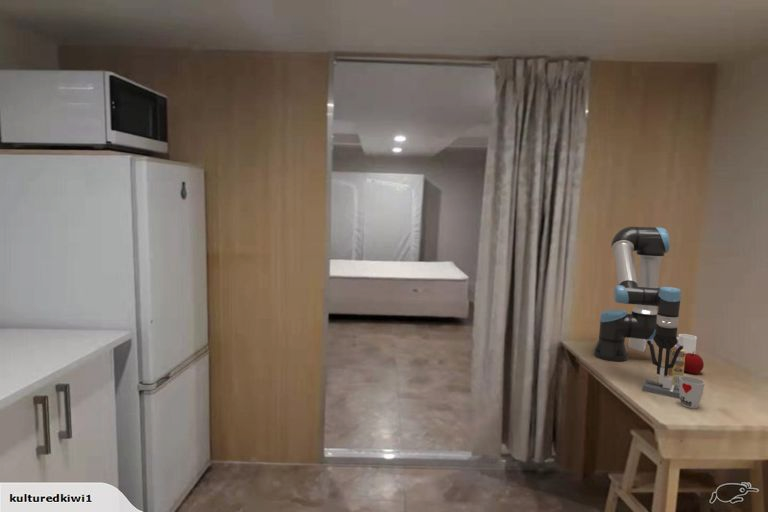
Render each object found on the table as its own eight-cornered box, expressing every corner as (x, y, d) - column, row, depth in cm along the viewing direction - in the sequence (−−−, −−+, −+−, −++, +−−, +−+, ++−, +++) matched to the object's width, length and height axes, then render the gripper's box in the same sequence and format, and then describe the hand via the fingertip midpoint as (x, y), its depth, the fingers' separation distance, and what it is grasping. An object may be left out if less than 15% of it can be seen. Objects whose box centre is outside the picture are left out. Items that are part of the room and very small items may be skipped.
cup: (671, 401, 188) (674, 376, 187) (691, 401, 189) (694, 376, 188) (686, 410, 180) (689, 384, 179) (707, 409, 181) (709, 383, 180)
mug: (691, 353, 252) (693, 334, 251) (698, 358, 244) (700, 339, 242) (666, 350, 255) (667, 332, 253) (671, 355, 246) (673, 336, 245)
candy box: (683, 386, 204) (686, 351, 202) (671, 385, 205) (675, 349, 204) (677, 379, 212) (680, 345, 211) (666, 378, 214) (669, 344, 212)
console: (642, 390, 198) (643, 380, 198) (645, 384, 206) (646, 373, 205) (694, 401, 188) (695, 390, 188) (695, 394, 196) (696, 383, 195)
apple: (704, 372, 223) (706, 351, 222) (700, 377, 216) (702, 355, 215) (681, 367, 229) (683, 346, 228) (676, 371, 222) (678, 350, 221)
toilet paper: (643, 352, 251) (644, 339, 251) (624, 346, 262) (625, 333, 261) (654, 350, 255) (655, 337, 254) (635, 344, 265) (636, 332, 264)
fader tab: (662, 387, 196) (663, 377, 196) (663, 383, 200) (664, 374, 200) (671, 389, 194) (672, 379, 194) (672, 385, 198) (673, 375, 198)
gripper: (647, 324, 196) (642, 381, 199) (685, 330, 189) (679, 389, 191) (649, 321, 202) (644, 376, 205) (686, 326, 195) (680, 383, 198)
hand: (661, 382), depth 198 cm, fingers closed
